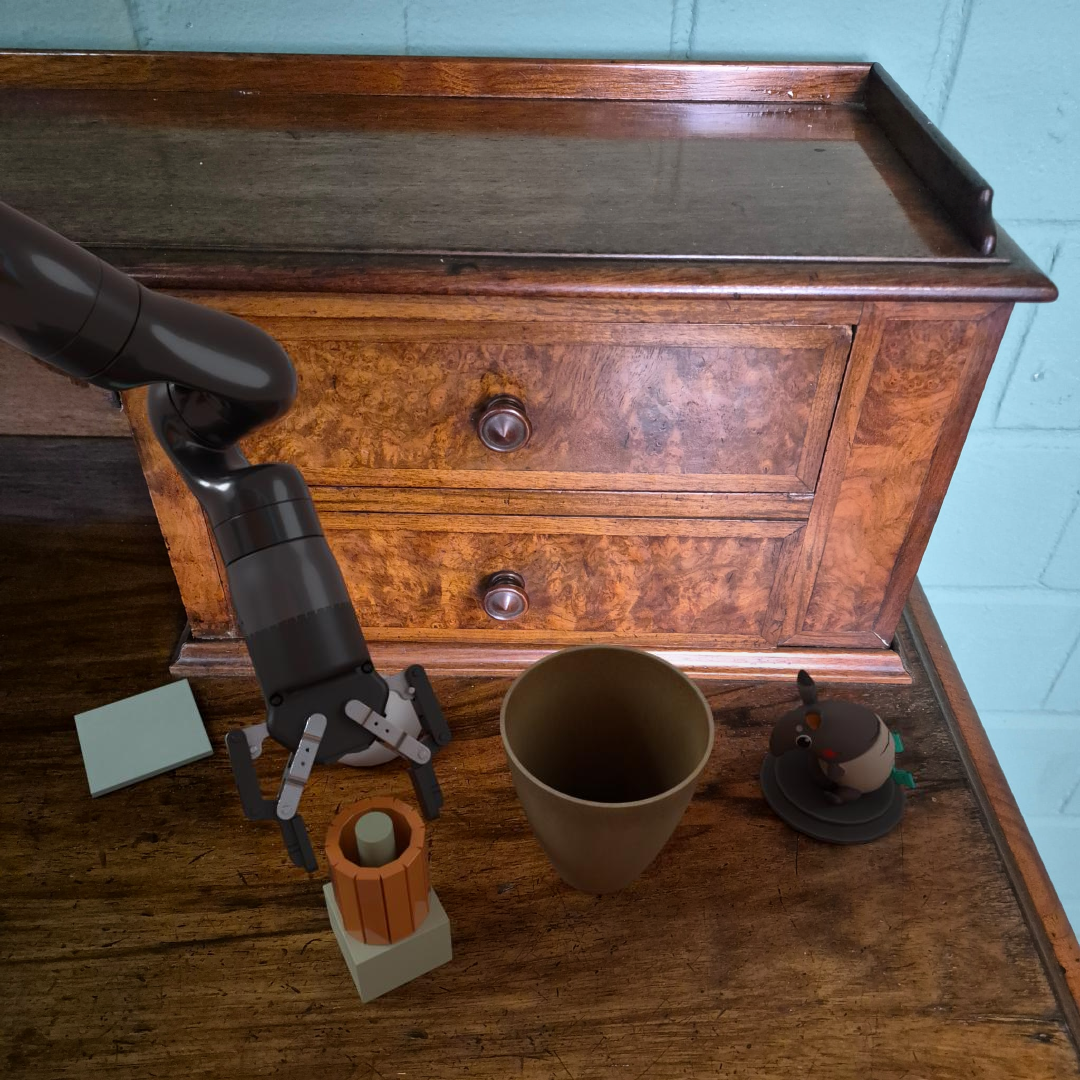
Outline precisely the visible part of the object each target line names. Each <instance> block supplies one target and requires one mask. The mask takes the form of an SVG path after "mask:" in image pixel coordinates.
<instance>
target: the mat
mask: <svg viewBox="0 0 1080 1080" xmlns="http://www.w3.org/2000/svg"><path fill="white" fill-rule="evenodd" d="M73 716H74V721H75V725H76V731H77V735H78V740H79V744H80V749H81V753H82V757H83V762H84V768H85V771H86V776H87V781H88V786H89V790H90V794H91V796H92V798H93V799H95V798H98V797H100V796H103V795H105V794H108V793H112V792H113V791H117V790H120V789H122V788H124V787H127V786H128V787H129V786H131V785H133V784H136V783H138V782H140V781H145V780H147V779H149V778H152V777H155V776H157V775H160V774H163V773H165V772H168V771H169V772H170V771H171V770H174V769H176V768H177V769H178V768H180V767H182V766H185V765H187V764H190V763H193V762H195V761H198V760H201V759H204V758H207V757H209V756H212V755H214V751H213V747H212V745H211V742H210V739H209V735H208V734H207V730H206V727H205V726H204V721H203V719H202V716H201V714H200V712H199V709H198V706H197V703H196V700H195V697H194V695H193V692H192V689H191V685H190V684H189V681H188V679H187V678H184V679H181V680H177V681H175V682H172V683H169V684H166V685H163V686H160V687H156V688H154V689H150V690H148V691H145V692H142V693H138V694H136V695H133V696H130V697H127V698H123V699H121V700H118V701H115V702H113V703H109V704H106V705H103V706H100V707H97V708H94V709H90V710H88V711H84V712H82V713H79V714H76V715H73Z"/></svg>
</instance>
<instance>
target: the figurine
mask: <svg viewBox="0 0 1080 1080" xmlns="http://www.w3.org/2000/svg"><path fill="white" fill-rule="evenodd" d="M796 688H797V691H798V694H799V697H800V698H801V701H802V703H803V704H801V705H797V706H794V707H793V708H792V709H791V710H788V711H787V712H786V713H785V714H784V715H783V716H781V717H780V718H779V719H778V720H777V721H776V722H775V724H774V725H773V727H772V729H771V732H770V734H769V740H768V749H769V752H767V754H766V755H765V756H764V759H763V762H762V765H761V768H760V771H759V774H758V776H759V777H758V778H759V782H760V789H761V795H762V796H763V797H764V799H765V801H766V802H767V804H768V806H769V807H770V809H771V810H772V812H773V813H774V814H776V815H777V816H778V817H779V818H780V819H781V820H783V821H784V822H785V823H786V824H787V825H788V826H790V827H791V828H792V829H793V830H796V831H798V832H800V833H803V834H805V835H807V836H809V837H811V838H813V839H815V840H818V841H823V842H829V843H833V844H838V845H855V844H857V845H858V844H867V843H871V842H874V841H876V840H878V839H881V838H883V837H885V836H887V835H889V834H890V833H891V832H892V831H893V830H894V829H895V827H896V826H897V825H898V824H899V823H900V822H901V820H902V818H903V815H904V811H905V810H904V809H905V804H906V799H907V798H906V795H905V792H904V787H903V785H904V786H906V787H908V789H910V790H916V784H915V781H914V779H913V776H912V774H911V771H910V770H902V769H900V770H899V769H896V767H895V764H896V762H895V761H896V759H895V758H896V753H897V754H902V753H904V747H903V744H902V741H901V739H900V736H899V733H898V731H897V730H895V731H893V732H891V731H890V730H889V728H888V727H887V725H886V724H885V722H884V721H883V719H882V718H881V717H880V716H879V715H878V714H877V713H875V712H874V711H872V710H871V709H869V708H868V707H867V706H865V705H861V704H858V703H856V702H853V701H848V700H842V699H823V700H819V693H818V688H817V685H816V682H815V681H814V679H813V677H812V676H811V675H810V674H809V673H808V672H807V670H805V669H800V670H798V672H797V676H796Z"/></svg>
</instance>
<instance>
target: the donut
mask: <svg viewBox="0 0 1080 1080" xmlns="http://www.w3.org/2000/svg"><path fill="white" fill-rule="evenodd" d="M378 674H379V675H380V676H381V677H383V678H384V679H385V678H387V677H390V676H391V675H388V674H384V673H378ZM384 715H386V716H385V717H384V718H385V719H386V720H388V721H389V722H391V723H392V724H394V725H395V726H397V727H399V728H400V729H402V730H403V731H404V732H406V734H408V735H409V736H411V737H412V738H414V739H415V740H418V737H419V735H420V734H421V731H422V727H421V725H420V723H419V720H418V718H417V715H416V713H415V711H414V708H413V706H412V703H411V701H410V700H403V699H401V698H400V697H399V695H398V694H397V693H396V692H394V691H390V694H389V698H388V701H387V705H386V708H385V712H384ZM369 748H370V749H367V750H364V751H362V752H359V753H352V754H346V755H345V756H343V757H342V758H340V759H339V760H338V761H337V762H338V763H339V764H343V765H348V766H353V767H373V766H376V765H380V764H385V763H388V762H390V761H392V760H394V759H396V758H397V757H400V756H399V755H398V754H396V753H395V752H393V751H392V750H390V749H388V748H386V747H384V746H382V745H381V744H379V743H378V742H376V741H375V742H374V743H373V744H372V745H371V746H370V747H369Z"/></svg>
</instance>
